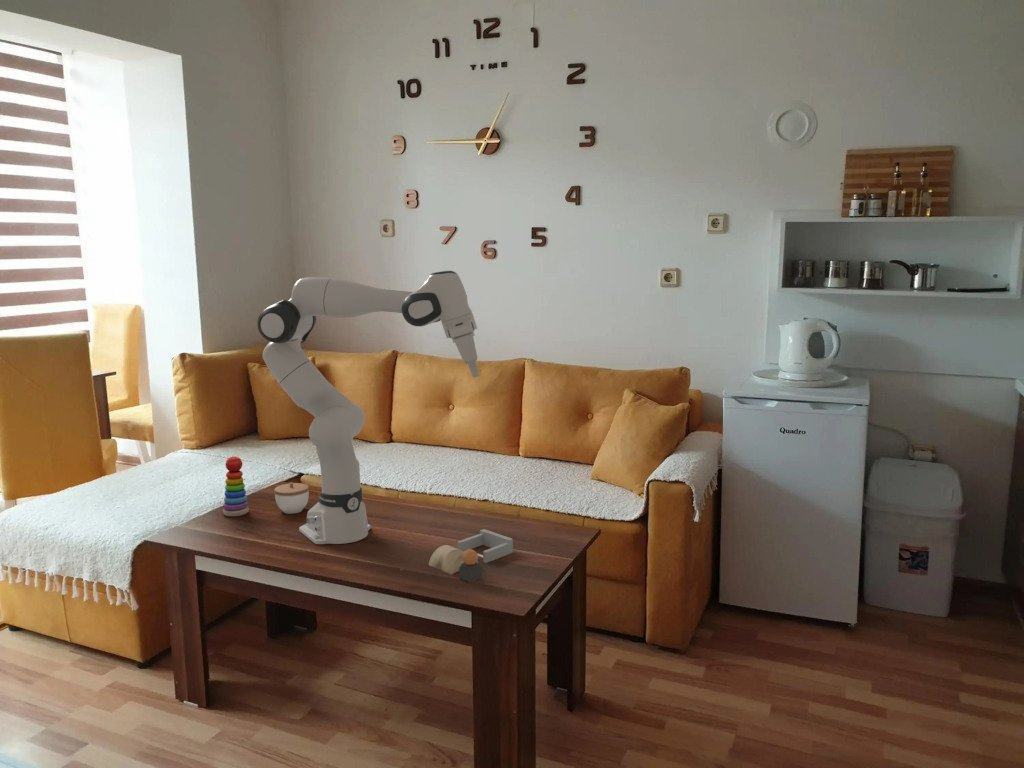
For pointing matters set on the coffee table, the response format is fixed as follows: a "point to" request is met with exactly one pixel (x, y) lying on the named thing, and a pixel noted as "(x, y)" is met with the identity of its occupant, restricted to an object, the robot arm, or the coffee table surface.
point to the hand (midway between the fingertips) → (475, 375)
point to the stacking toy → (234, 489)
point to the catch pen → (488, 544)
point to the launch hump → (447, 559)
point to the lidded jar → (292, 497)
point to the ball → (470, 557)
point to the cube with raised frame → (470, 572)
